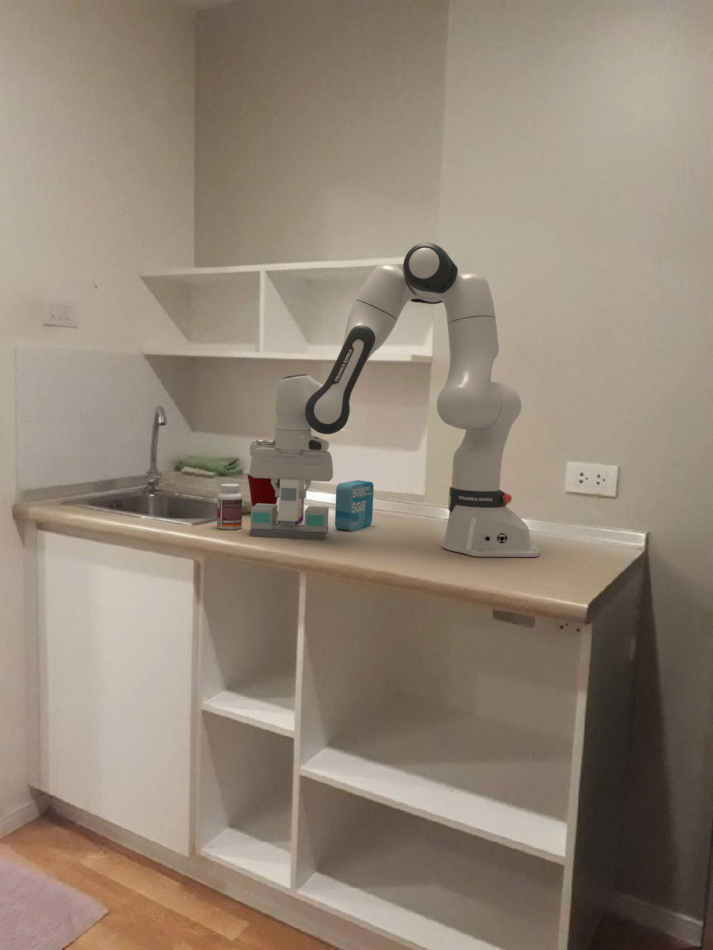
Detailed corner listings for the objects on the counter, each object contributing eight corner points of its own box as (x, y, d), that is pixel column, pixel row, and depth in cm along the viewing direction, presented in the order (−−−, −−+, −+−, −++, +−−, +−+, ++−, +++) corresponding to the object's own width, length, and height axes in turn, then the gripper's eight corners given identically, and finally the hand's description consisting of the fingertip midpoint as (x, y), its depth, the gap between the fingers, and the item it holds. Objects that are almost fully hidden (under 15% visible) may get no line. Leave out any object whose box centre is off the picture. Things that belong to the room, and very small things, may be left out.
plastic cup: (273, 519, 203) (274, 475, 201) (238, 515, 206) (238, 472, 205) (289, 513, 213) (291, 471, 211) (255, 510, 216) (257, 469, 215)
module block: (301, 516, 186) (302, 476, 185) (297, 521, 179) (298, 480, 178) (283, 515, 186) (284, 475, 185) (278, 520, 179) (279, 479, 178)
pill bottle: (246, 527, 189) (247, 484, 188) (231, 531, 184) (232, 487, 182) (227, 524, 192) (228, 482, 191) (211, 528, 187) (212, 484, 185)
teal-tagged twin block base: (328, 532, 188) (329, 506, 187) (324, 539, 178) (325, 512, 177) (257, 528, 189) (258, 502, 188) (249, 536, 179) (250, 509, 178)
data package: (349, 532, 189) (351, 485, 188) (334, 529, 191) (336, 483, 190) (372, 525, 199) (374, 481, 198) (357, 523, 202) (359, 479, 200)
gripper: (247, 440, 178) (246, 497, 180) (332, 444, 177) (330, 501, 179) (252, 438, 184) (251, 493, 186) (335, 442, 183) (332, 497, 185)
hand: (290, 497), depth 182 cm, fingers closed on module block, 4 cm apart
